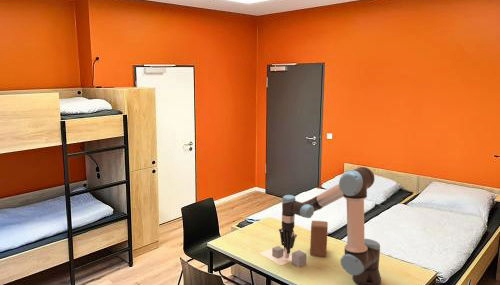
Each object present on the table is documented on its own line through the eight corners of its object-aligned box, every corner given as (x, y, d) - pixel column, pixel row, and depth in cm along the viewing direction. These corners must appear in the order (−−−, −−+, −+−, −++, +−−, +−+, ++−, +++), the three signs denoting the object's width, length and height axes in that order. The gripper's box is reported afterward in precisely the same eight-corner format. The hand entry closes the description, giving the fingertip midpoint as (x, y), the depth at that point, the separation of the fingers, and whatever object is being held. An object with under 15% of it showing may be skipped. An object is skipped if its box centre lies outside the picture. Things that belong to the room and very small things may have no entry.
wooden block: (326, 257, 238) (327, 227, 235) (309, 256, 240) (311, 225, 236) (326, 250, 248) (327, 221, 244) (310, 248, 250) (311, 219, 246)
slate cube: (305, 264, 230) (306, 253, 228) (299, 267, 226) (299, 256, 224) (298, 260, 234) (298, 250, 233) (291, 263, 230) (292, 252, 229)
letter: (297, 258, 236) (297, 258, 236) (281, 266, 227) (281, 265, 227) (274, 247, 251) (275, 247, 251) (258, 253, 242) (258, 253, 242)
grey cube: (283, 256, 239) (283, 248, 238) (277, 258, 236) (277, 250, 235) (277, 253, 243) (278, 245, 242) (272, 255, 240) (272, 248, 239)
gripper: (300, 222, 226) (299, 259, 230) (284, 216, 236) (283, 251, 240) (291, 225, 221) (290, 263, 226) (275, 219, 231) (274, 255, 236)
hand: (286, 257), depth 233 cm, fingers closed
